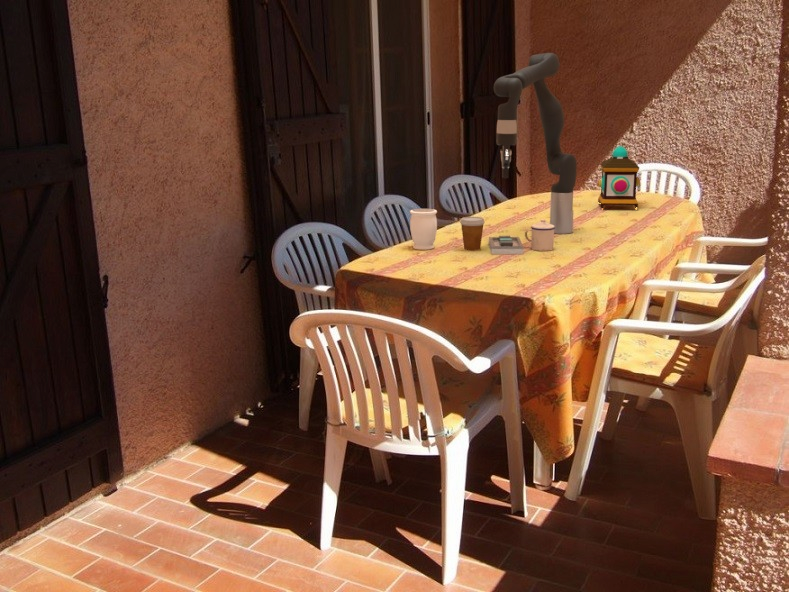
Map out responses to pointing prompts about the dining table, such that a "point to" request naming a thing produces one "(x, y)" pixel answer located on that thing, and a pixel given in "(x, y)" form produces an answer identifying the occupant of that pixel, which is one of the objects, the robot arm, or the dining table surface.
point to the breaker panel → (499, 249)
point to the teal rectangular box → (505, 239)
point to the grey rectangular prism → (504, 237)
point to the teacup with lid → (541, 236)
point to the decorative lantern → (618, 180)
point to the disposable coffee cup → (472, 232)
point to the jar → (423, 228)
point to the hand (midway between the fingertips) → (505, 177)
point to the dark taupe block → (506, 243)
